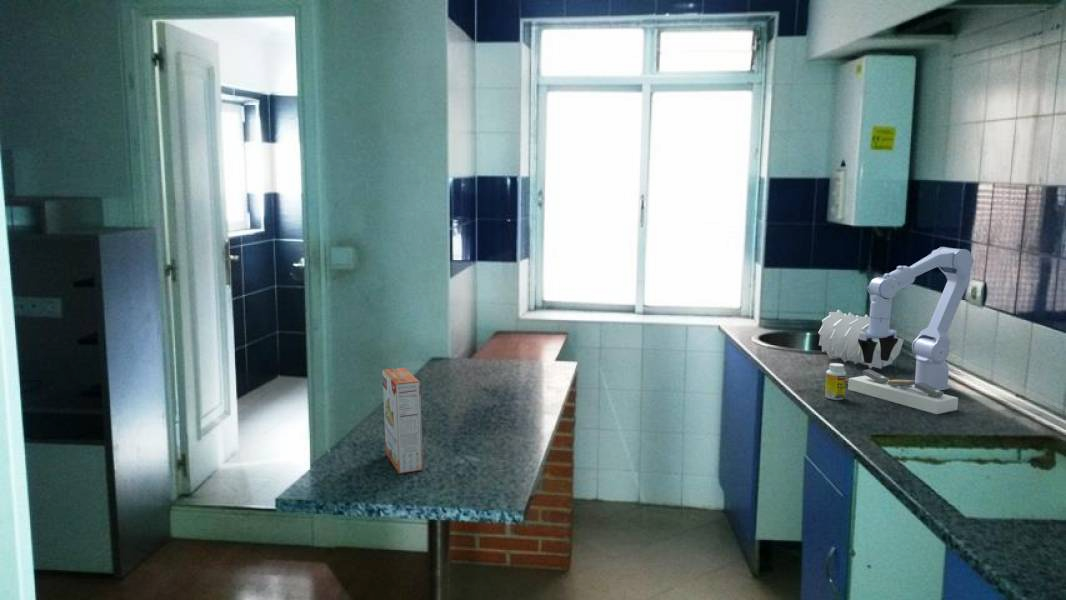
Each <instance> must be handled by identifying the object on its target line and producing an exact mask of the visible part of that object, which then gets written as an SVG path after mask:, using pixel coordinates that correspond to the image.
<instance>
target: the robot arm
mask: <svg viewBox="0 0 1066 600" xmlns="http://www.w3.org/2000/svg"><path fill="white" fill-rule="evenodd" d="M974 263H975V260H974V257H973V255H972V253H971V252H970V250H968V249H965V248H962V249H961V248H952V247H947V246H940V247H939V248H937V249H933V250H932V251H931V253H929V254H928V255H927V256H925V257H923V258H921V259H920V260H918V261H917V262H915V263H913V264H912V265H910V266H907V265H898V266H896V269H895V270H893V271H891V272H889V273H888V272H887V273H884V274H883V275H882V277H878V276H877V277H874V278H873V279H871V280H870V282H869V284H868V285H867V286H866V287H867V292H868V294H869V300H870V309H869V330H866V332H863V333H860V337H859V339H858V343H859V345H860V347H861V349H862V353H863V357H864V362H865V363H869V364H870V363H872V360H873V353H874V350H875V347H876V345H877V343H878V342H874V341H873V340H872V339H877V338H879V342H880V348H881V360H884V361H888V360H889V357H890V354H891V352H892V349H893V348H894V346H895V344H896V343H897V342H898V338H899V337H898V330H895V329H890V325H891V312H892V300H893V298H895V296H896V295H897V292H898V291H899V290H902V289H903V288H905V287H907V286H909V285H911V284H913V283H914V282H915V280H916V277H918V276H920V275H923V274H924V273H926V272H928V271H930V270H933V269H935V268H938V269H939V270H940V271H941V272H942V273H943V274H944V275H945V277H946V279H947V280H946V281H947V282H946V283H945V286H944V289H943V291H942V293H941V295H940V298H939V300H938V303H937V306H936V308H935V310H934V312H933V314H932V317H931V319H930V322H929V324H928V326H927V327H926V328H924V329H922V330H921V331H920V332H919V334H918V336H917V337H916V338H915V339H914V340H913V341H912V343H911V351H912V353H913V354H914V357H915V359H916V361H915V362H916V363H915V364H916V365H915V377H914V380H915V383H920V382H923V383H925V384H927V385H929V386H931V387H934V388H936V389H938V390H940V391H945V390H950V388H951V387H950V386H948V382H949V370H950V368H949V365H948V363H947V361H945V360H947V358H948V356H949V354H950V345H951V343H952V341H951V338H950V337H949V335H948V332H949V329H950V327H951V325H952V323H953V320H954V318H955V315H956V312H957V310H958V308H959V306H960V303H961V301H962V299H963V296H964V294H965V291H966V289H967V287H968V284H969V282H970V277H971V270H972V267H973V264H974ZM894 337H898V338H894ZM910 386H915V385H910Z"/></svg>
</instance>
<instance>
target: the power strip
mask: <svg viewBox="0 0 1066 600" xmlns="http://www.w3.org/2000/svg"><path fill="white" fill-rule="evenodd" d="M889 380H890V379H888V381H889ZM846 384H847V390H849V391H852V392H856V393H859V394H863V395H867V396H870V397H873V398H877V399H881V400H884V401H888V402H893V403H896V404H899V405H903V406H905V407H910V408H914V409H915V410H919V411H923V412H924V411H925V412H927V413H930V414H934V415H938V414H939V415H940V414H944V413H948V412H954V411H957V410H958V405H959V397H956V396H953V395H948V394H945V393H943V396H940V397H934V396H932V395H930V394H928V393H925V392H923V391H921V390H919V389H917V388H915V387H914V386H903V385H888V382H885V383H880V382H878V381H876V380H874V379H872V378H870V377H867V376H865V375H861V376H860V375H859V376H855V377H849V378H846Z"/></svg>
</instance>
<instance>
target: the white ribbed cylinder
mask: <svg viewBox="0 0 1066 600" xmlns="http://www.w3.org/2000/svg"><path fill="white" fill-rule="evenodd" d="M869 318H870V315H868V314H865V315H864V316H859V315H858V314H857V315H854V314H853V313H852V312H848V314H847V313H844V312H842V311H841V309H837V310H836V311H829V312H828V316H826V317H825V318H823V319H821V323H822V325H821V327H820V329H819V331H818V332H817V333H818V334H819V343H818V346H821V352H823V353H824V352H826V354H827V355H828V356H829V358H830V359H832V358H834V357H836V358H839V359H841V361H842V362H843V363H846V362H847V361H849V362H853V363H854V364H855V365H856V364H858V363H859V364H862V365H864V366H868V368H869V369H870V370H872V368H877V369H879V370H880V369H881V370H882V368H884V367H886V366H889V365H891V364H893V361H895V359H896V358H897V357H898V356H899V355H900V353H901V350H902V346H903V343H904V341H905V339H903V338H901V337H898V336H897V337H894V338H898V342H897V343H896V344H895V346H894V348H893V349H892V352H891V354H890V357H889V360H888V361H884V360H881V348H880V342H879V338H877V339H872V340H873V341H874V342H878V343H877V345H876V347H875V350H874V353H873V360H872V363H870V364H869V363H865V362H864V357H863V353H862V349H861V347H860V345H859V343H858V339H859V337H860V333H863V332H866V330H869Z"/></svg>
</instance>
